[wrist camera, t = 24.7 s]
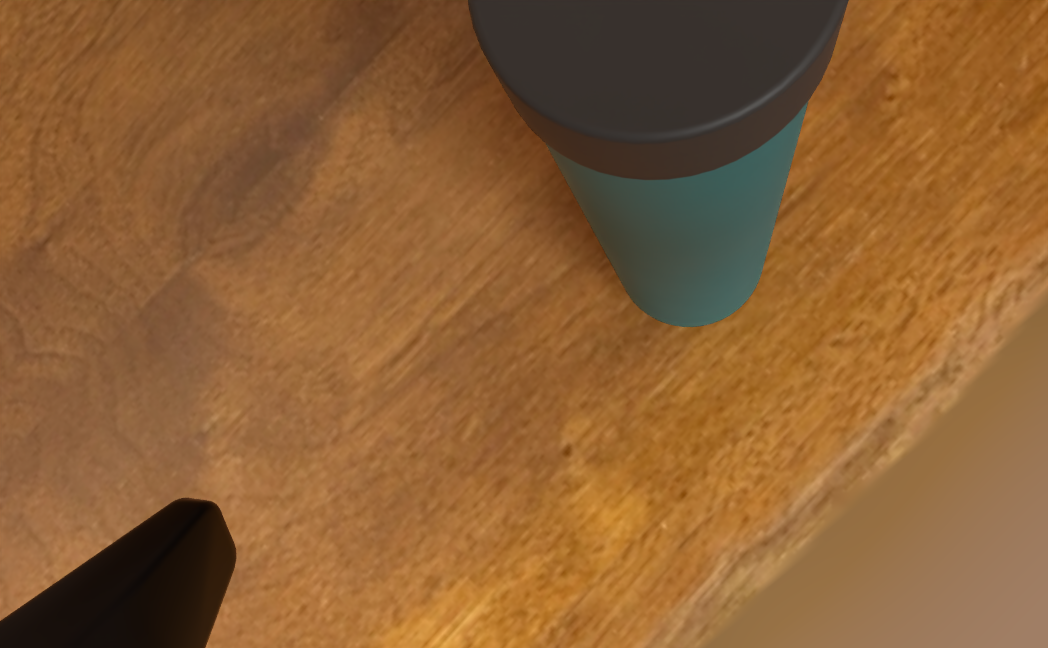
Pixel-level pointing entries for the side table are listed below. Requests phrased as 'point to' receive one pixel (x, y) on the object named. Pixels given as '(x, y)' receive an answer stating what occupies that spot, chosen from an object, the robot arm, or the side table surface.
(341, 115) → the side table surface
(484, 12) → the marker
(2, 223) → the side table surface
